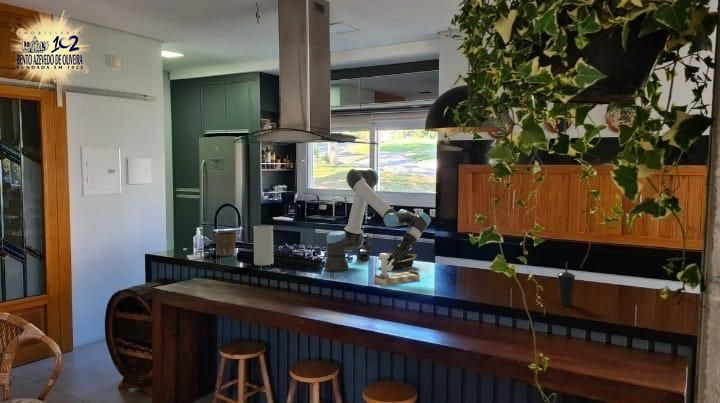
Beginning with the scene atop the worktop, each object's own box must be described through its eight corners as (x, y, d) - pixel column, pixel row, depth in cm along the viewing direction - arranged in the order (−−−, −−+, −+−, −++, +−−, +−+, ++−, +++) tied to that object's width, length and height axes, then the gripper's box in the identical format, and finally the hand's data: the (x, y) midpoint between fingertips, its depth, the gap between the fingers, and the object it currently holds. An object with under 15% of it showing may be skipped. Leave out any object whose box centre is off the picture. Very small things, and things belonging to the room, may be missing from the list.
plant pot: (238, 256, 367) (237, 234, 366) (215, 257, 362) (214, 235, 361) (236, 252, 383) (236, 231, 382) (214, 254, 378) (213, 232, 377)
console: (408, 276, 293) (408, 269, 292) (419, 280, 284) (419, 272, 284) (373, 281, 280) (373, 274, 280) (383, 285, 272) (383, 277, 271)
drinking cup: (553, 302, 234) (554, 259, 233) (569, 302, 235) (570, 259, 233) (561, 307, 226) (562, 262, 225) (578, 306, 227) (579, 262, 226)
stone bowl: (417, 263, 333) (417, 249, 332) (416, 274, 309) (416, 259, 307) (380, 262, 336) (380, 248, 335) (376, 272, 312) (376, 258, 311)
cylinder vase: (251, 265, 330) (250, 227, 328) (257, 262, 342) (257, 225, 341) (270, 266, 328) (269, 227, 327) (275, 262, 341) (275, 225, 339)
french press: (363, 261, 342) (363, 227, 340) (352, 260, 348) (352, 226, 346) (374, 259, 351) (374, 226, 349) (364, 258, 357) (363, 225, 355)
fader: (384, 275, 281) (384, 253, 280) (389, 277, 276) (389, 254, 276) (379, 276, 279) (379, 253, 278) (384, 277, 275) (384, 254, 274)
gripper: (422, 242, 282) (399, 275, 274) (408, 239, 293) (385, 272, 285) (415, 233, 279) (390, 267, 271) (400, 231, 290) (377, 263, 282)
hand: (388, 269), depth 278 cm, fingers closed
